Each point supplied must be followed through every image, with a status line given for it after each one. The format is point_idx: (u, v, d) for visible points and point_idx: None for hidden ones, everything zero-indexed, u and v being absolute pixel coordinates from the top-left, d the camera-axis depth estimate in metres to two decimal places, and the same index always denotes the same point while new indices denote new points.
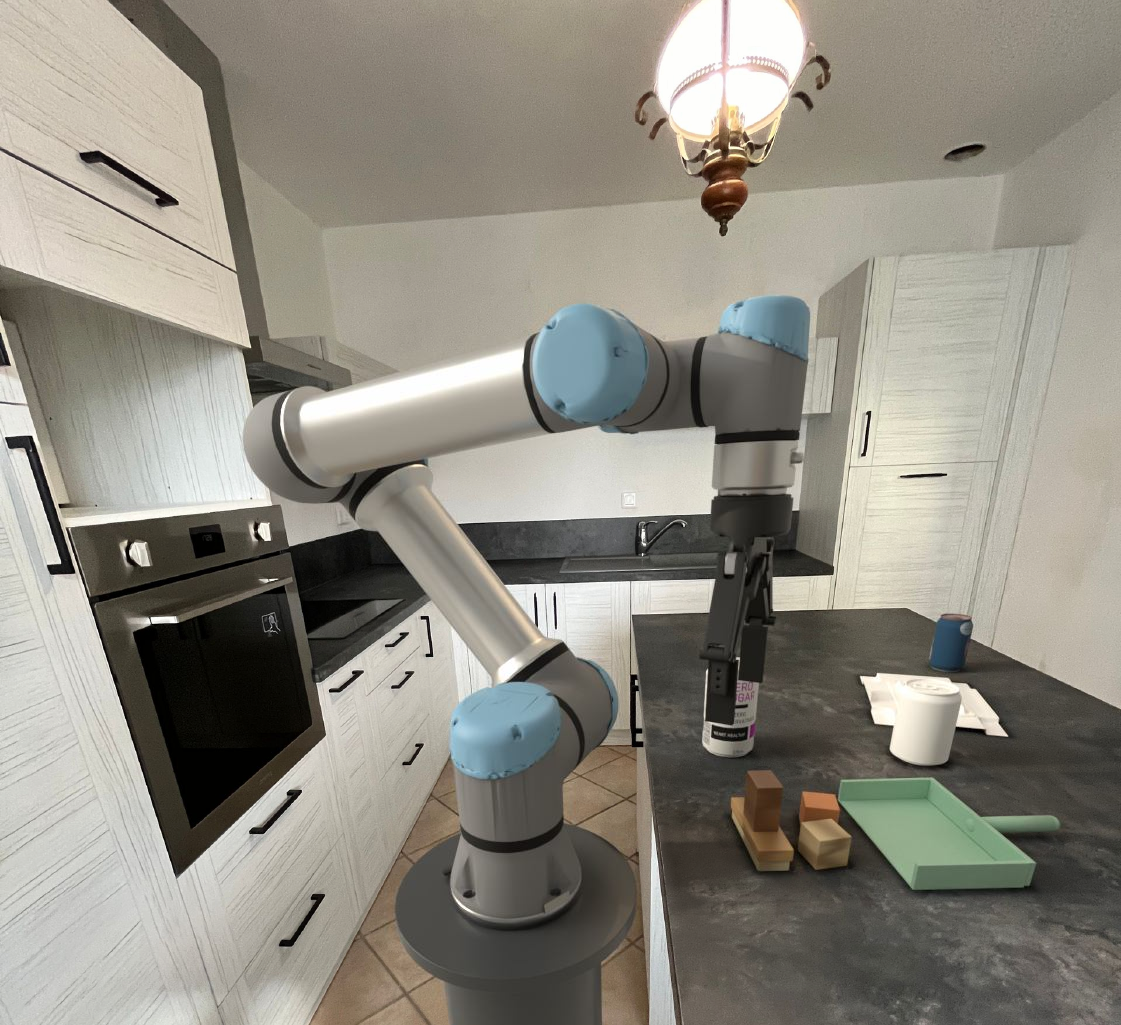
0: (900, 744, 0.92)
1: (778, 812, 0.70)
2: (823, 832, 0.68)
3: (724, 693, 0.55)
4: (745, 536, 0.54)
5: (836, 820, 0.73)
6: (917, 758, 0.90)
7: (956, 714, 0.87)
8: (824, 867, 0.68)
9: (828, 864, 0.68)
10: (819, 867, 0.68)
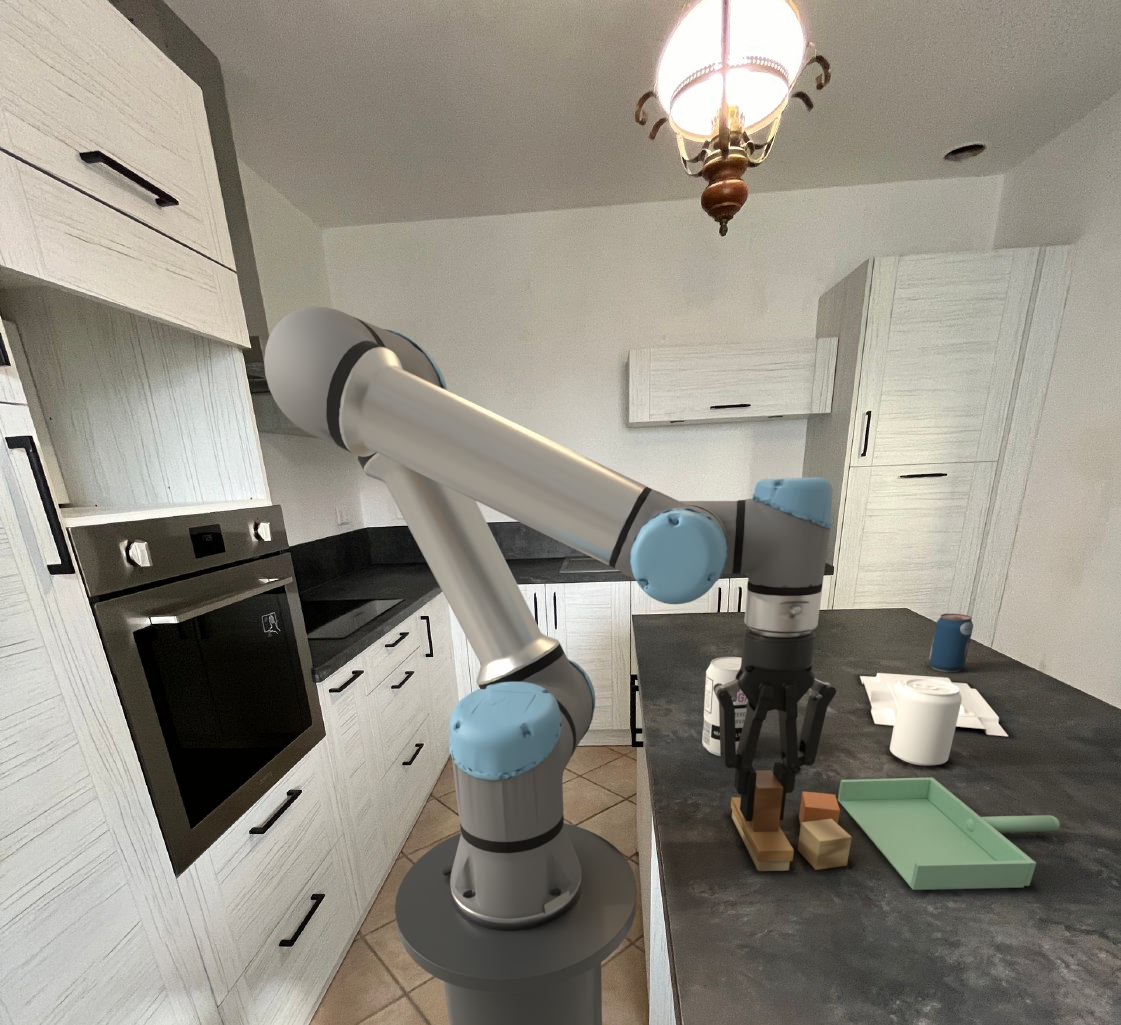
0: (900, 744, 0.92)
1: (778, 812, 0.70)
2: (823, 832, 0.68)
3: None
4: (744, 663, 0.65)
5: (836, 820, 0.73)
6: (917, 758, 0.90)
7: (956, 714, 0.87)
8: (824, 867, 0.68)
9: (828, 864, 0.68)
10: (819, 867, 0.68)
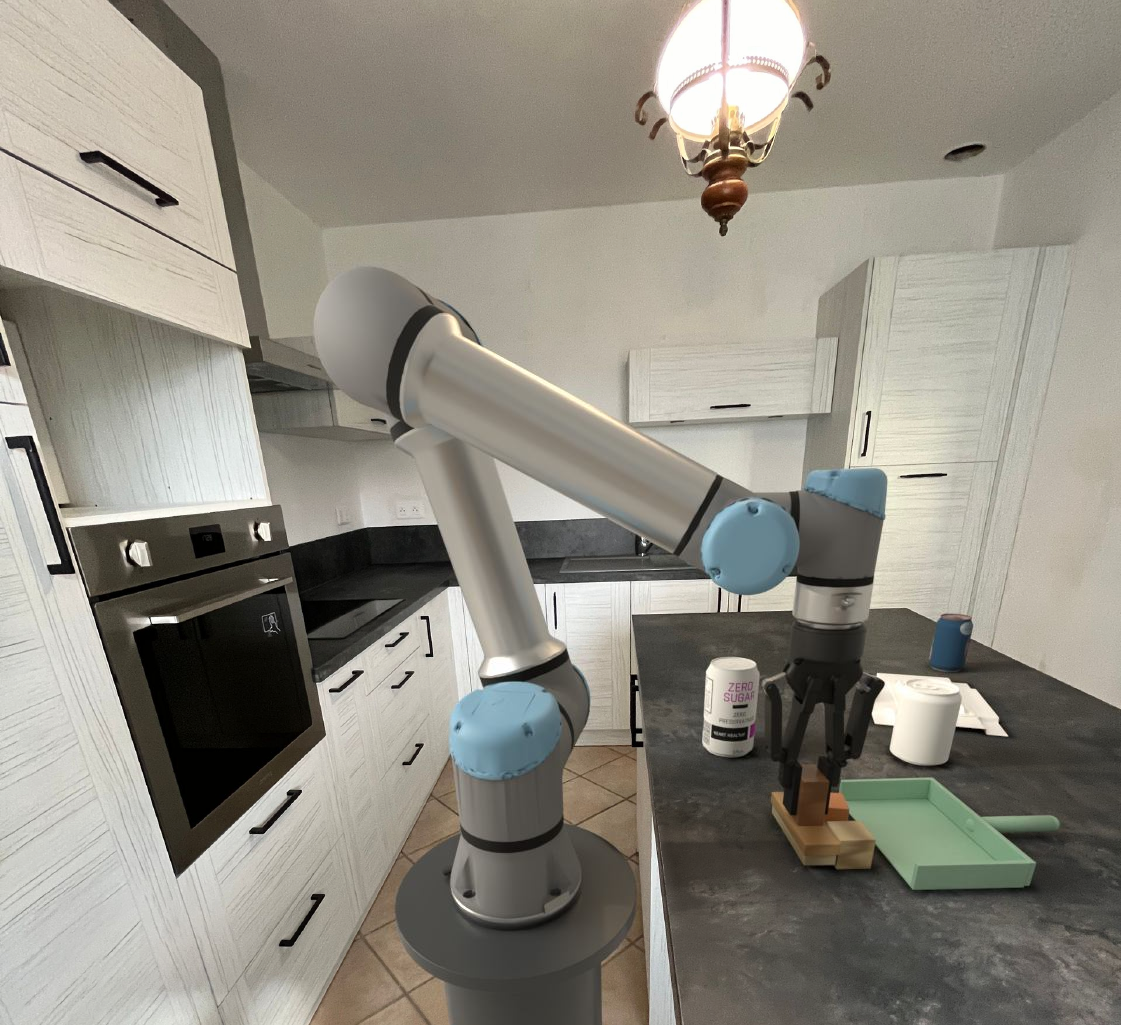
0: (900, 744, 0.92)
1: (823, 806, 0.69)
2: (847, 832, 0.68)
3: (782, 786, 0.70)
4: (792, 656, 0.65)
5: (846, 819, 0.73)
6: (917, 758, 0.90)
7: (956, 714, 0.87)
8: (845, 867, 0.68)
9: (850, 865, 0.68)
10: (840, 867, 0.68)
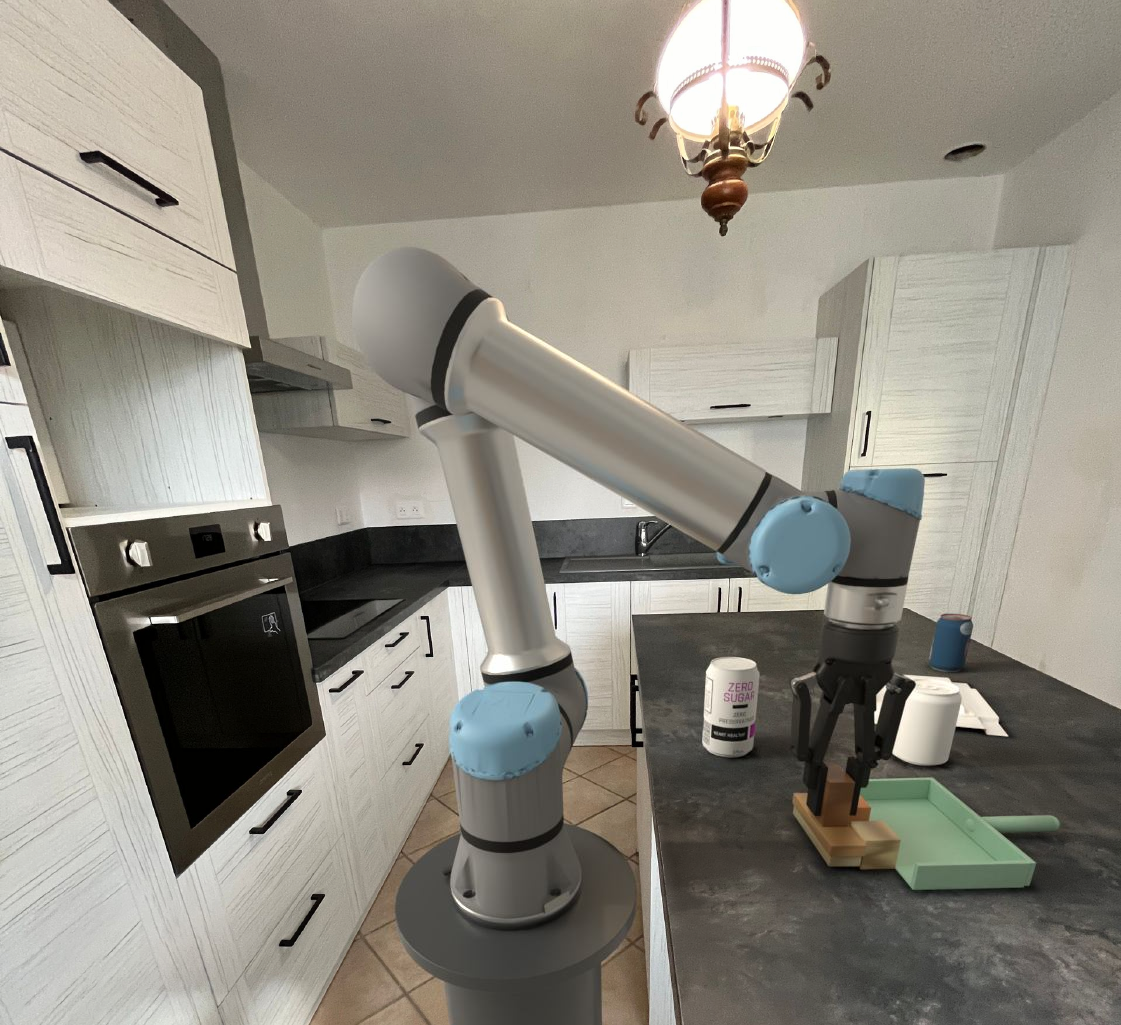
0: (900, 744, 0.92)
1: (848, 807, 0.69)
2: (871, 832, 0.68)
3: (807, 786, 0.70)
4: (823, 656, 0.64)
5: (867, 817, 0.74)
6: (917, 758, 0.90)
7: (956, 714, 0.87)
8: (870, 867, 0.68)
9: (874, 865, 0.68)
10: (864, 867, 0.68)
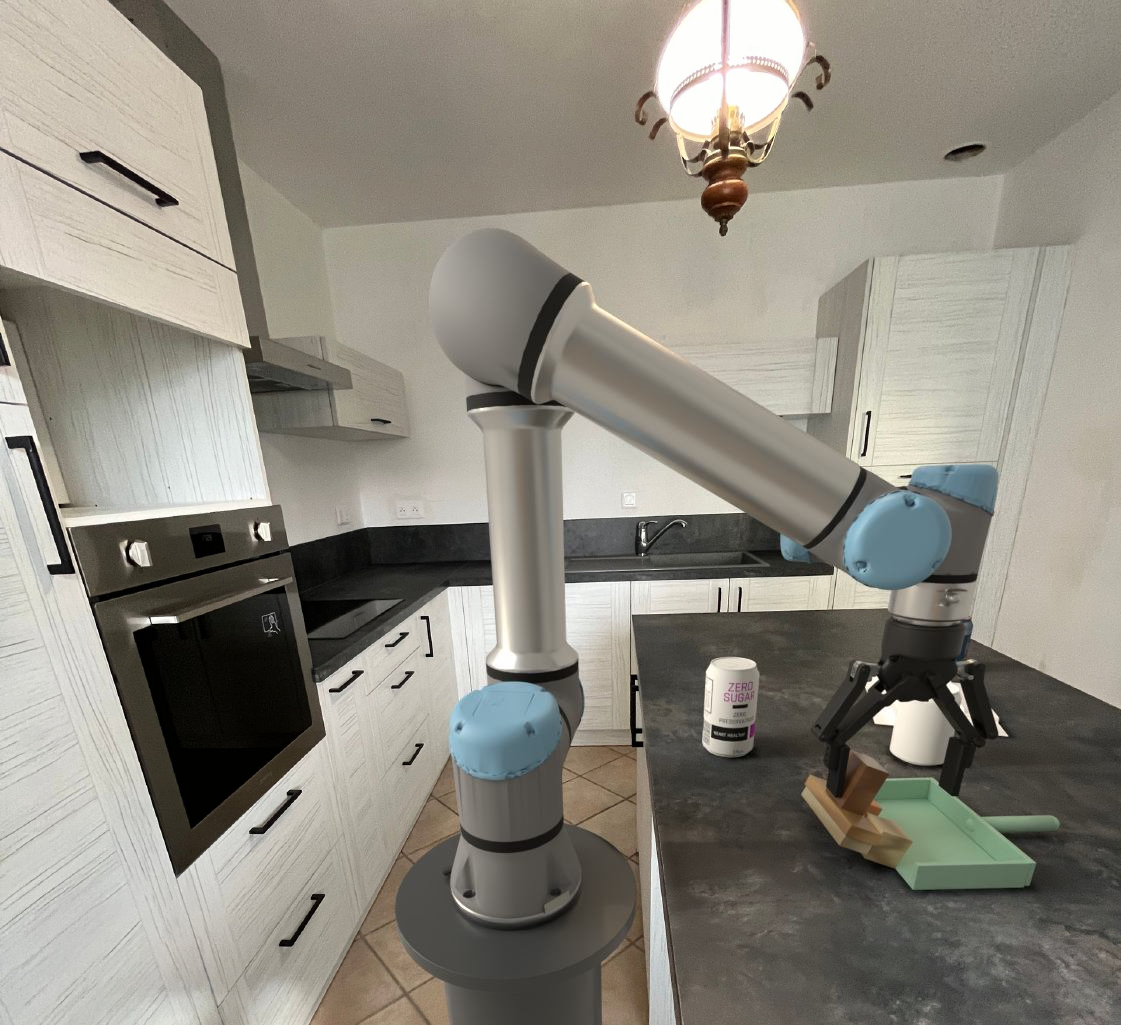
0: (900, 744, 0.92)
1: (872, 797, 0.69)
2: (887, 827, 0.68)
3: (828, 768, 0.69)
4: (887, 653, 0.64)
5: None
6: (917, 758, 0.90)
7: None
8: (873, 859, 0.68)
9: (878, 859, 0.68)
10: (869, 857, 0.67)
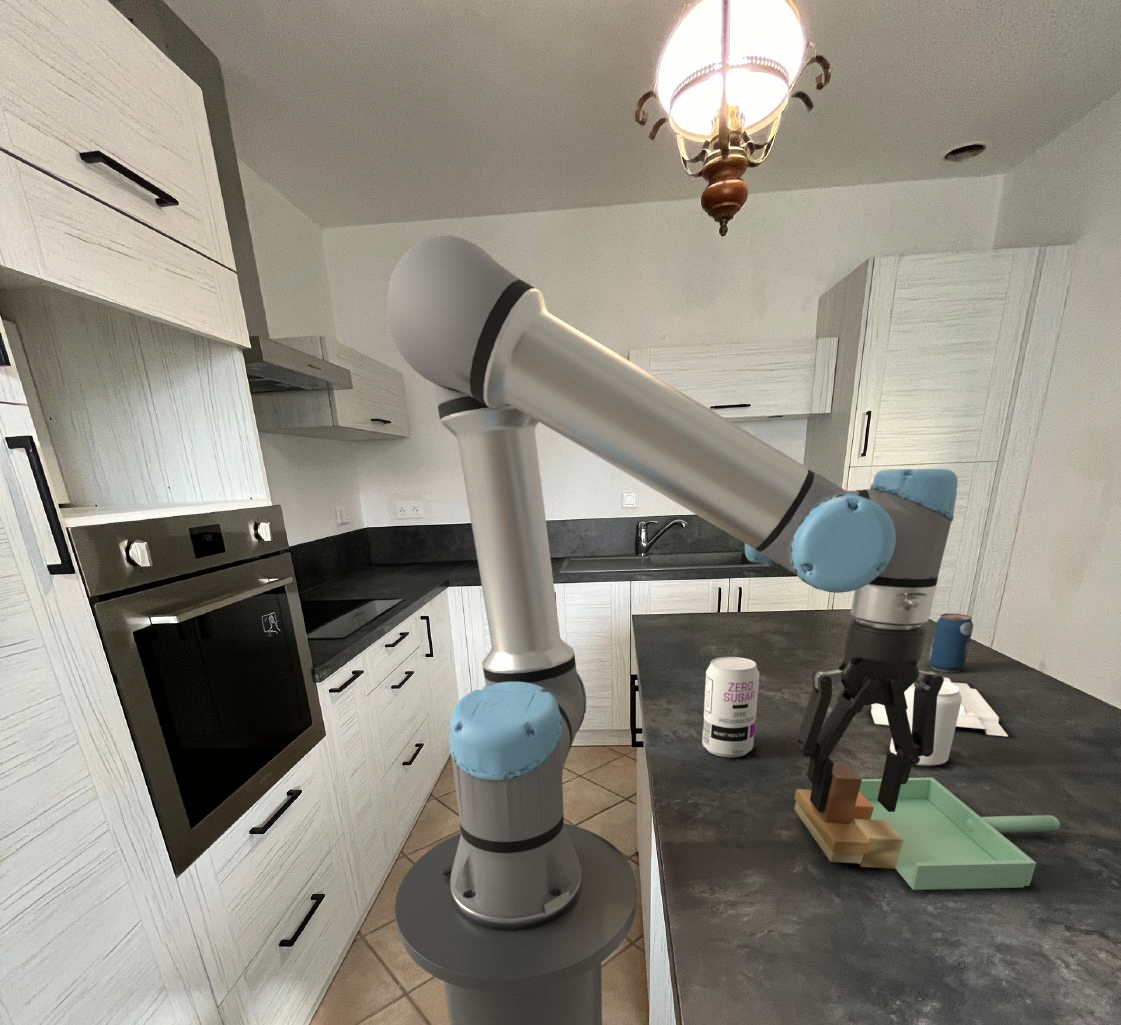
0: None
1: (853, 804, 0.69)
2: (874, 831, 0.68)
3: (812, 782, 0.70)
4: (849, 656, 0.64)
5: (869, 817, 0.74)
6: None
7: (956, 714, 0.87)
8: (870, 866, 0.68)
9: (875, 864, 0.68)
10: (865, 865, 0.68)
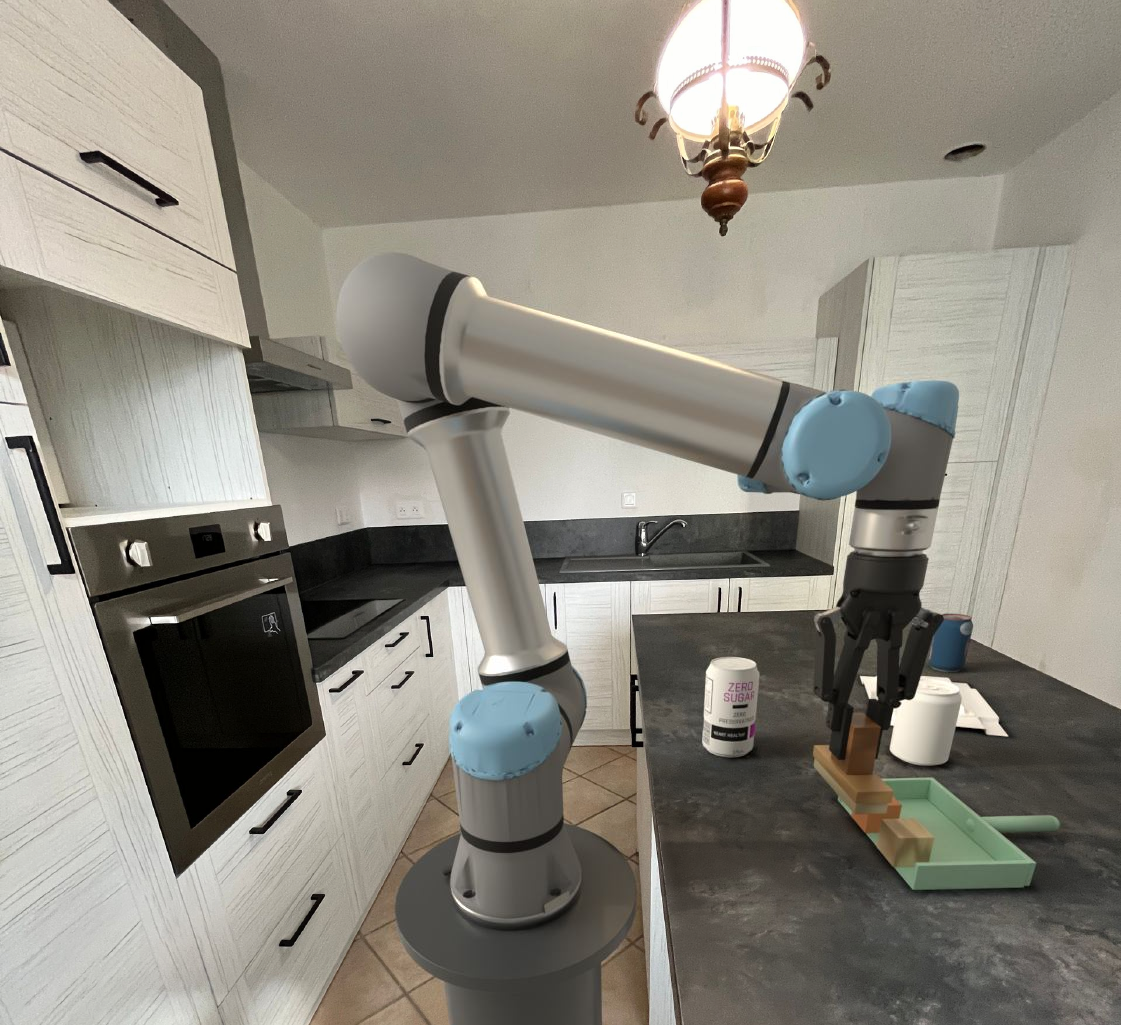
0: (900, 744, 0.92)
1: (874, 754, 0.67)
2: None
3: (831, 729, 0.68)
4: (848, 588, 0.62)
5: None
6: (917, 758, 0.90)
7: (956, 714, 0.87)
8: (899, 846, 0.67)
9: (901, 849, 0.67)
10: (901, 841, 0.67)
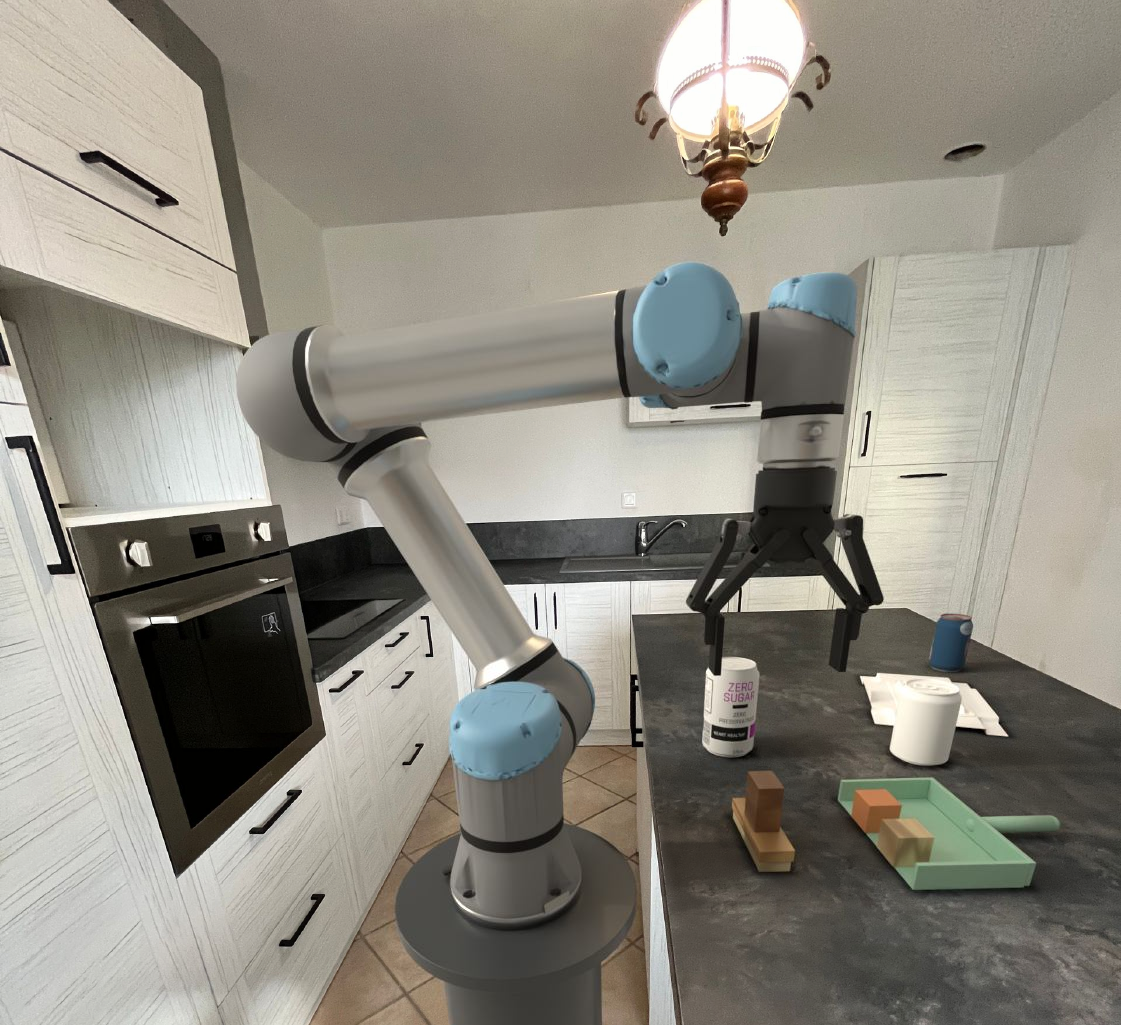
0: (900, 744, 0.92)
1: (779, 813, 0.70)
2: None
3: (704, 642, 0.64)
4: (756, 507, 0.59)
5: None
6: (917, 758, 0.90)
7: (956, 714, 0.87)
8: (899, 846, 0.67)
9: (901, 849, 0.67)
10: (901, 841, 0.67)
